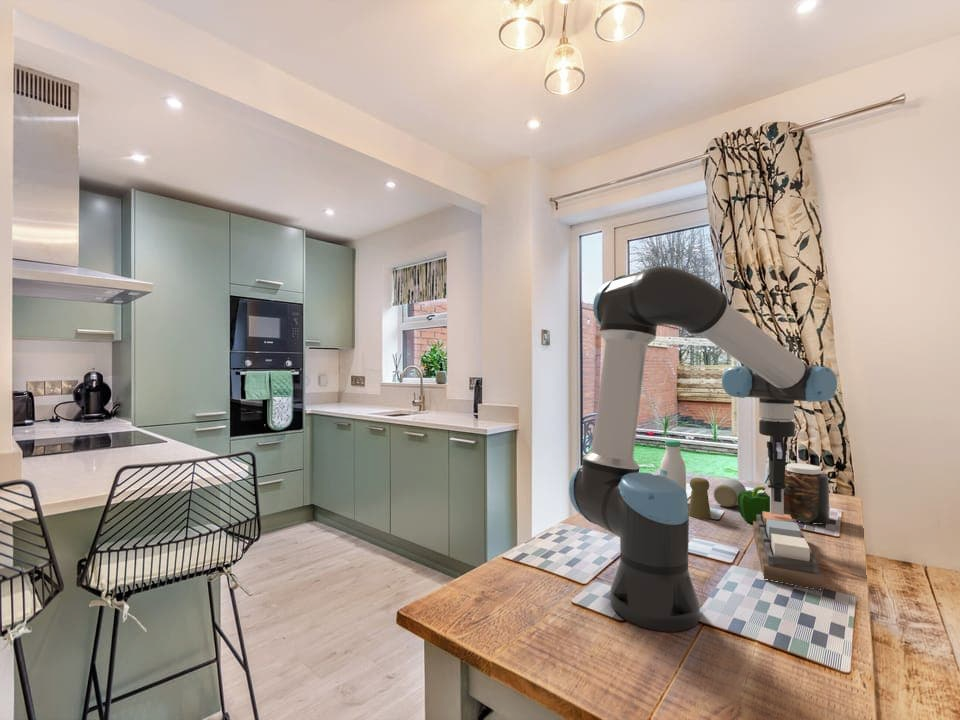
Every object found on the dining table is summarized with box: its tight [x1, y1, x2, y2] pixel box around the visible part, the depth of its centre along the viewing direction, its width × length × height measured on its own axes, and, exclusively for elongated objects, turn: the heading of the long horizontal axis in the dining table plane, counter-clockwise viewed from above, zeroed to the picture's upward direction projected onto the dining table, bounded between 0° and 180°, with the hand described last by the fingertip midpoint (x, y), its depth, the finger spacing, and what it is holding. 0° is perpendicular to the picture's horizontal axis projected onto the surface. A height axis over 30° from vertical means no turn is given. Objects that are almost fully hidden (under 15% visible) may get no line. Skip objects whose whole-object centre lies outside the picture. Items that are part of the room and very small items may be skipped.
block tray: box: [752, 514, 825, 591], centre depth 104 cm, size 30×10×5 cm, turn 153°
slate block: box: [766, 519, 802, 539], centre depth 104 cm, size 6×6×3 cm
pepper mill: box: [688, 477, 712, 520], centre depth 133 cm, size 6×6×11 cm
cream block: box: [771, 533, 811, 561], centre depth 95 cm, size 6×6×3 cm
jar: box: [784, 462, 830, 524], centre depth 131 cm, size 12×12×15 cm
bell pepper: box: [737, 486, 770, 524], centre depth 128 cm, size 8×8×10 cm
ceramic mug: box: [713, 478, 747, 508], centre depth 142 cm, size 11×8×8 cm
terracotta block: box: [762, 511, 793, 524], centre depth 114 cm, size 6×6×3 cm
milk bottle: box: [659, 439, 687, 493], centre depth 146 cm, size 8×8×20 cm
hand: (776, 513), depth 114 cm, fingers closed
